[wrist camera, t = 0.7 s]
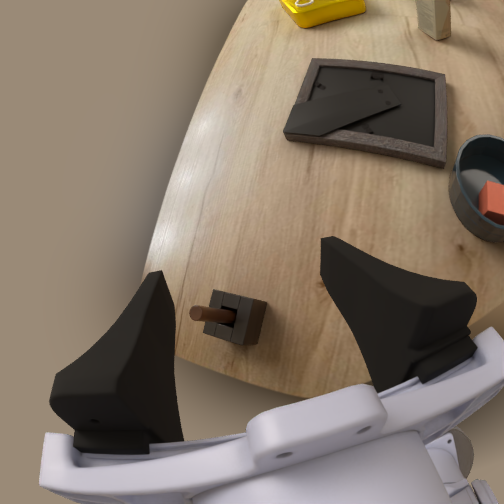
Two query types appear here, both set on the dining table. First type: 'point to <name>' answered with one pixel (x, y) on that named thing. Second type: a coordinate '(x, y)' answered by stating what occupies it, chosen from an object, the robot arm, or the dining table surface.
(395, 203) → the dining table surface
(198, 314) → the brown cylindrical rod
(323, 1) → the element tile
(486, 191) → the block
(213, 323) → the stand
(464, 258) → the dining table surface
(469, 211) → the bowl
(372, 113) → the picture frame
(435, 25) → the box
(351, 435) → the robot arm
